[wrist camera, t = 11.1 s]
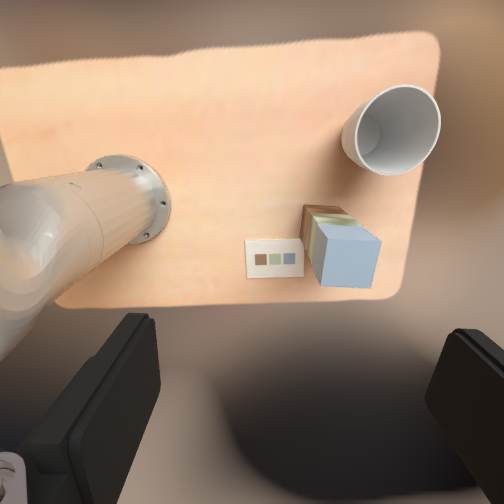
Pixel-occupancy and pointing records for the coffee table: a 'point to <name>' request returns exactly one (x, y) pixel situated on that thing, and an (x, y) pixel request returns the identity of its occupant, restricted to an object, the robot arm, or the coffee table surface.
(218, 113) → the coffee table surface
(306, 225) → the tower base
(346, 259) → the blue brick
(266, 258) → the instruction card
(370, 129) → the cup
